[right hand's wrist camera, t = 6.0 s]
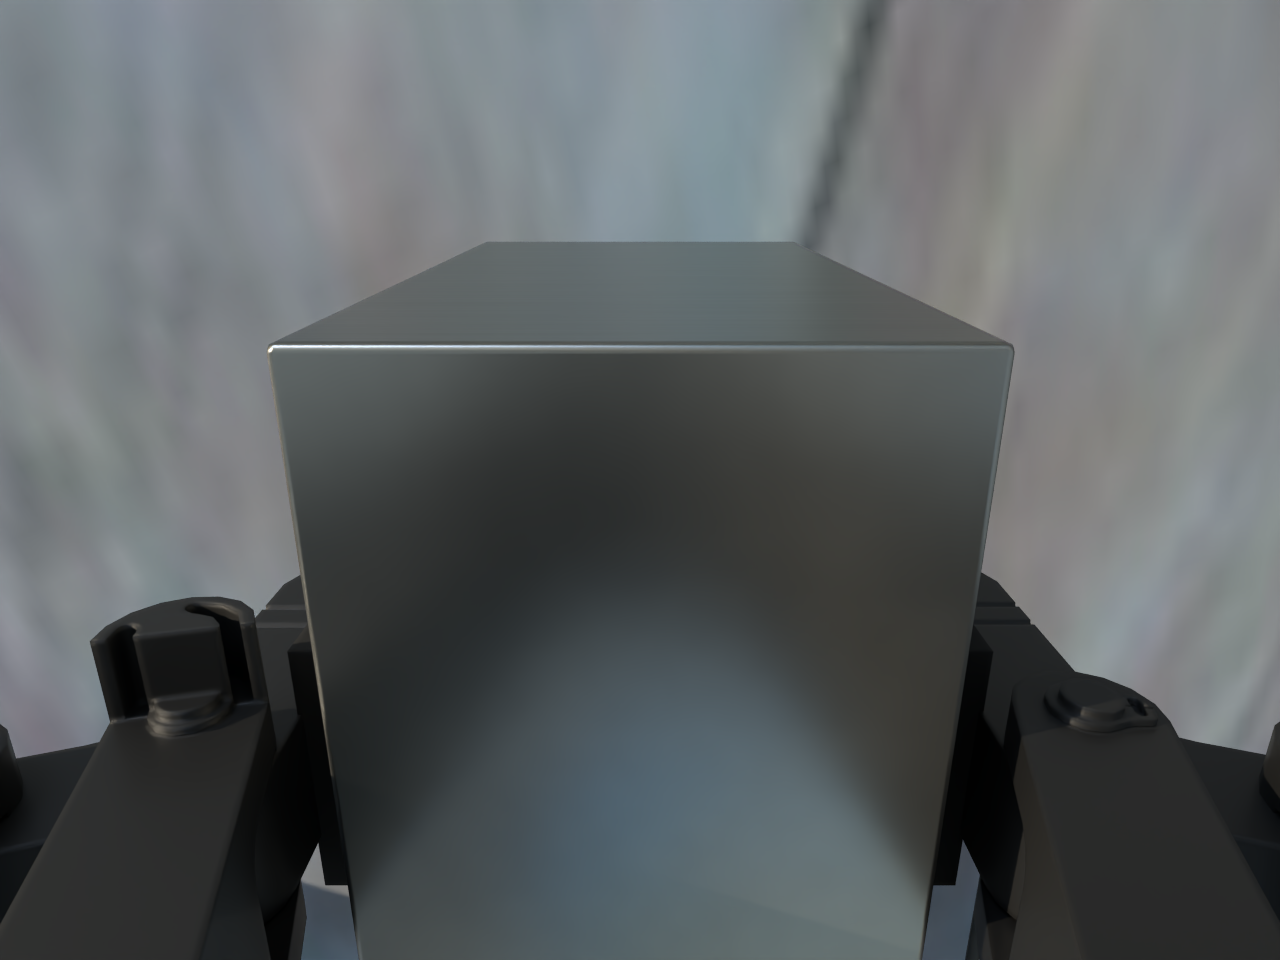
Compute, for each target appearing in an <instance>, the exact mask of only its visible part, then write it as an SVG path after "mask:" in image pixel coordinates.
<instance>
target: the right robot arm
mask: <svg viewBox="0 0 1280 960" xmlns="http://www.w3.org/2000/svg"><path fill="white" fill-rule="evenodd" d="M90 644H91V648H92V652H93V656H94V660H95V664H96V668H97V672H98V676H99V680H100V683H101V687H102V691H103V695H104V699H105V703H106V707H107V711H108V715H109V719H110V724H109V726H108V727H107V729H106V731H105V733H104V735H103V737H102V738H101V740H100V742H98V743H94V744H90V745H86V746H80V747H75V748H70V749H65V750H59V751H54V752H49V753H43V754H38V755H33V756H28V757H22V758H17V759H16V757H15V753H14V750H13V747H12V744H11V740H10V737H9V734H8V730H7V729H6V728H4V727H3V726H2V725H1V724H0V960H301V954H302V947H303V940H304V933H305V926H306V919H307V917H306V909H305V901H304V895H303V889H302V884H301V877H302V875H303V873H304V871H305V869H306V867H307V865H308V863H309V861H310V859H311V857H312V854H313V852H314V850H315V848H316V846H317V844H318V843H319V849H320V855H321V861H322V868H323V874H324V880H325V885H348V883H347V877H346V870H345V864H344V857H343V850H342V844H341V837H340V831H339V824H338V817H337V811H336V804H335V798H334V791H333V784H332V778H331V771H330V765H329V758H328V752H327V745H326V738H325V732H324V725H323V719H322V712H321V705H320V699H319V692H318V686H317V679H316V673H315V666H314V659H313V653H312V646H311V640H310V633H309V626H308V620H307V613H306V607H305V600H304V594H303V587H302V580H301V575H300V576H298V577H296V578H294V579H293V580H291V581H289V582H287V583H286V584H284V585H283V586H282V587H281V589H280V590H279V591H278V592H277V593H276V594H275V596H274V597H273V598H272V599H271V600H270V601H269V603H268V604H267V605H266V610H262V611H261V612H260V613H259V614H258V615H257V617H256V618H255V617H254V611H253V609H251V608H250V607H248V606H247V605H246V604H244V603H243V602H241V601H238V600H233V599H228V598H223V597H191V598H186V599H180V600H175V601H169V602H164V603H159V604H156V605H153V606H150V607H147V608H144V609H141V610H138V611H135V612H132V613H130V614H128V615H126V616H124V617H123V618H121V619H119V620H117V621H115V622H113V623H111V624H109V625H108V626H106V627H105V628H104V629H103V630H102V631H100V632H99V633H98V634H97V635H96V636H95V637H94V638H93V639H92V640H91V641H90ZM963 840H964V843H965V845H966V847H967V849H968V851H969V853H970V855H971V857H972V859H973V861H974V863H975V865H976V867H977V870H978V872H979V874H980V878H979V884H978V889H977V895H976V901H975V906H974V912H973V918H972V923H971V929H970V935H969V941H968V946H967V952H966V958H965V960H979V959H980V960H1280V722H1279V723H1277V724H1276V725H1275V726H1274V730H1273V733H1272V736H1271V740H1270V743H1269V746H1268V749H1267V753H1266V755H1264V754H1258V753H1253V752H1248V751H1242V750H1237V749H1232V748H1227V747H1221V746H1216V745H1211V744H1205V743H1200V742H1195V741H1191V740H1187V739H1183V738H1179V737H1178V735H1177V733H1176V731H1175V729H1174V728H1173V726H1172V724H1171V722H1170V721H1169V719H1168V718H1167V717H1166V716H1165V715H1164V714H1163V713H1162V711H1161V710H1160V709H1159V708H1158V707H1157V706H1156V705H1155V704H1154V703H1152V702H1151V701H1149V700H1148V699H1146V698H1145V697H1143V696H1142V695H1140V694H1138V693H1137V692H1135V691H1134V690H1132V689H1130V688H1128V687H1125V686H1123V685H1120V684H1118V683H1115V682H1112V681H1110V680H1107V679H1105V678H1102V677H1097V676H1093V675H1088V674H1083V673H1079V672H1075V671H1074V670H1073V669H1072V668H1071V666H1070V665H1069V664H1068V663H1067V662H1066V661H1065V659H1064V658H1063V657H1062V656H1061V655H1060V654H1059V653H1058V651H1057V650H1056V649H1055V648H1054V647H1053V646H1052V644H1051V643H1050V642H1049V641H1048V640H1047V639H1046V638H1045V636H1044V635H1043V634H1042V633H1041V632H1040V631H1039V629H1038V628H1037V627H1036V626H1035V625H1031V623H1030V619H1029V618H1028V617H1027V616H1026V614H1025V613H1024V612H1023V611H1022V610H1021V609H1020V608H1019V607H1015V602H1014V601H1013V599H1012V598H1011V597H1010V596H1009V595H1008V594H1007V592H1006V591H1005V590H1004V589H1003V588H1002V587H1001V586H1000V584H999V583H998V582H997V581H995V580H993V579H992V578H990V577H988V576H986V575H985V574H983V573H981V576H980V582H979V589H978V595H977V602H976V608H975V615H974V621H973V628H972V634H971V641H970V648H969V654H968V661H967V667H966V674H965V680H964V687H963V693H962V700H961V707H960V713H959V720H958V726H957V733H956V739H955V746H954V752H953V759H952V765H951V772H950V779H949V785H948V792H947V798H946V805H945V811H944V818H943V824H942V831H941V838H940V844H939V851H938V857H937V864H936V870H935V877H934V883H933V885H955V883H956V877H957V871H958V865H959V859H960V853H961V847H962V841H963Z"/></svg>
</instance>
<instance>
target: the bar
mask: <svg viewBox="0 0 1280 960" xmlns="http://www.w3.org/2000/svg"><path fill="white" fill-rule="evenodd" d="M267 356H268V363H269V370H270V376H271V383H272V389H273V396H274V403H275V409H276V416H277V422H278V429H279V436H280V442H281V449H282V455H283V462H284V468H285V475H286V482H287V488H288V495H289V501H290V508H291V515H292V521H293V528H294V534H295V541H296V547H297V554H298V561H299V567H300V574H301V580H302V587H303V594H304V600H305V607H306V613H307V620H308V626H309V633H310V640H311V646H312V653H313V659H314V666H315V673H316V679H317V686H318V692H319V699H320V705H321V712H322V719H323V725H324V732H325V738H326V745H327V752H328V758H329V765H330V771H331V778H332V784H333V791H334V798H335V804H336V811H337V817H338V824H339V831H340V837H341V844H342V850H343V857H344V864H345V870H346V877H347V883H348V890H349V896H350V903H351V910H352V916H353V923H354V929H355V936H356V943H357V949H358V956H359V960H922V955H923V949H924V942H925V936H926V929H927V923H928V916H929V910H930V903H931V897H932V890H933V883H934V877H935V870H936V864H937V857H938V851H939V844H940V838H941V831H942V824H943V818H944V811H945V805H946V798H947V792H948V785H949V779H950V772H951V765H952V759H953V752H954V746H955V739H956V733H957V726H958V720H959V713H960V707H961V700H962V693H963V687H964V680H965V674H966V667H967V661H968V654H969V648H970V641H971V634H972V628H973V621H974V615H975V608H976V602H977V595H978V589H979V582H980V576H981V569H982V562H983V556H984V549H985V543H986V536H987V530H988V523H989V517H990V510H991V503H992V497H993V490H994V484H995V477H996V471H997V464H998V458H999V451H1000V445H1001V438H1002V431H1003V425H1004V418H1005V412H1006V405H1007V399H1008V392H1009V386H1010V379H1011V372H1012V366H1013V359H1014V348H1013V345H1012V344H1010V343H1008V342H1006V341H1004V340H1002V339H1000V338H997V337H995V336H993V335H991V334H989V333H987V332H985V331H982V330H980V329H978V328H976V327H974V326H972V325H970V324H968V323H965V322H963V321H961V320H959V319H957V318H955V317H953V316H950V315H948V314H946V313H944V312H942V311H940V310H938V309H936V308H933V307H931V306H929V305H927V304H925V303H923V302H921V301H919V300H916V299H914V298H912V297H910V296H908V295H906V294H904V293H901V292H899V291H897V290H895V289H893V288H891V287H889V286H887V285H884V284H882V283H880V282H878V281H876V280H874V279H872V278H869V277H867V276H865V275H863V274H861V273H859V272H857V271H855V270H852V269H850V268H848V267H846V266H844V265H842V264H840V263H838V262H835V261H833V260H831V259H829V258H827V257H825V256H823V255H820V254H818V253H816V252H814V251H812V250H810V249H808V248H806V247H803V246H801V245H799V244H797V243H795V242H486V243H483V244H481V245H479V246H477V247H475V248H473V249H471V250H469V251H466V252H464V253H462V254H460V255H458V256H456V257H454V258H452V259H449V260H447V261H445V262H443V263H441V264H439V265H437V266H435V267H432V268H430V269H428V270H426V271H424V272H422V273H420V274H418V275H415V276H413V277H411V278H409V279H407V280H405V281H403V282H401V283H398V284H396V285H394V286H392V287H390V288H388V289H386V290H384V291H382V292H379V293H377V294H375V295H373V296H371V297H369V298H367V299H365V300H362V301H360V302H358V303H356V304H354V305H352V306H350V307H348V308H345V309H343V310H341V311H339V312H337V313H335V314H333V315H331V316H328V317H326V318H324V319H322V320H320V321H318V322H316V323H314V324H311V325H309V326H307V327H305V328H303V329H301V330H299V331H297V332H294V333H292V334H290V335H288V336H286V337H284V338H282V339H280V340H278V341H275V342H273V343H271V344H269V346H268V350H267Z"/></svg>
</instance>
